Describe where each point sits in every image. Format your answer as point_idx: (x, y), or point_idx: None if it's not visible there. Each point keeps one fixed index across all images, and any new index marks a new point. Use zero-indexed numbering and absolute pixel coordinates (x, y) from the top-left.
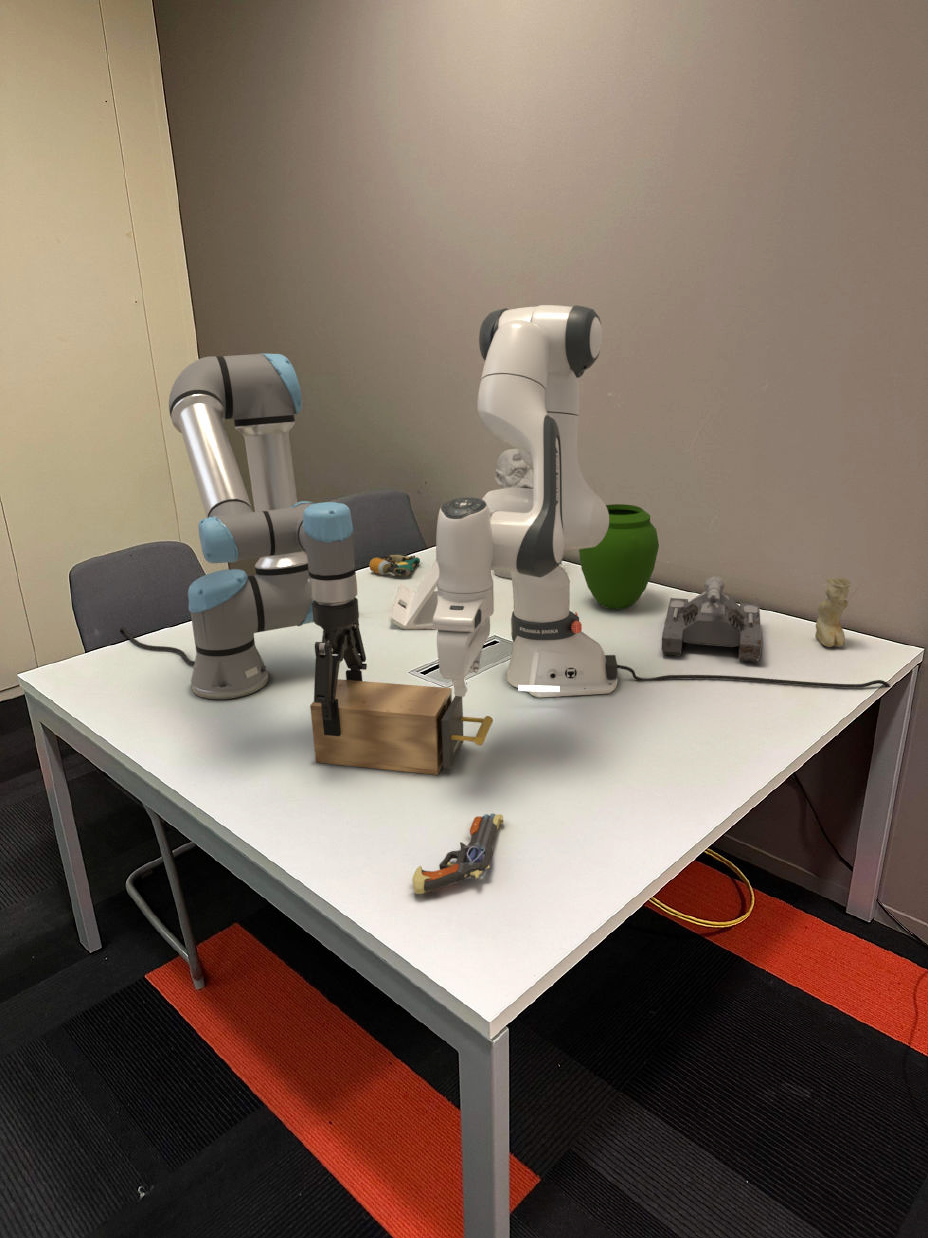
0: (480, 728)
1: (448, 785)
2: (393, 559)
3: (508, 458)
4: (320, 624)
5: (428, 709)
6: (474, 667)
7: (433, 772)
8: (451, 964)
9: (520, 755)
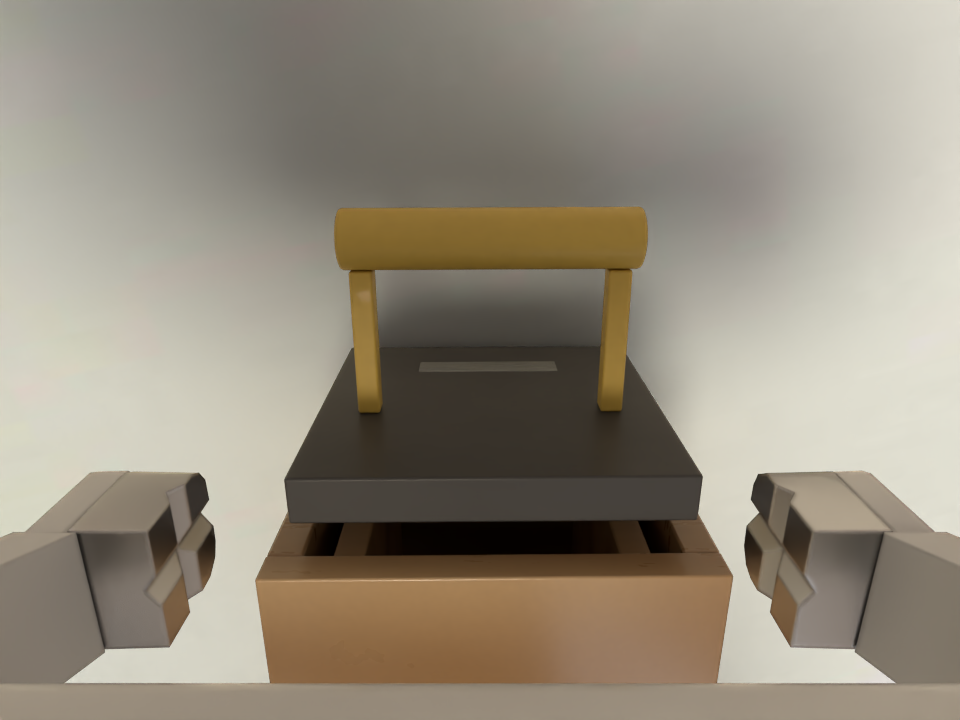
0: (519, 259)
1: (706, 323)
2: None
3: None
4: None
5: (634, 638)
6: (176, 537)
7: None
8: None
9: (369, 25)
